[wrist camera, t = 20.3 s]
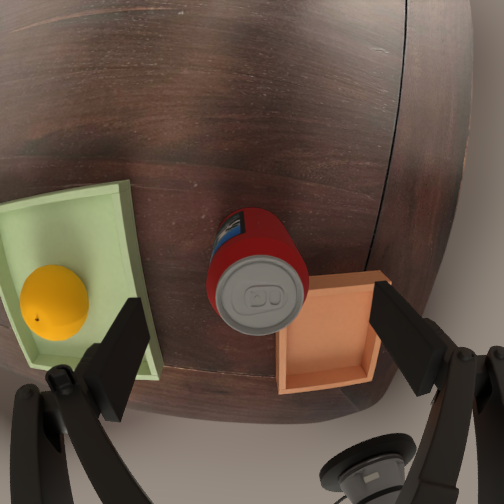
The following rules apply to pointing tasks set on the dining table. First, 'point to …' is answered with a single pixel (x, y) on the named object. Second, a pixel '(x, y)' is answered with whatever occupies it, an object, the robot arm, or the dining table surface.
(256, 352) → the dining table surface
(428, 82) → the dining table surface
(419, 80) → the dining table surface
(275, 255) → the beverage can
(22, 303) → the orange
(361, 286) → the drink tray
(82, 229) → the fruit tray
